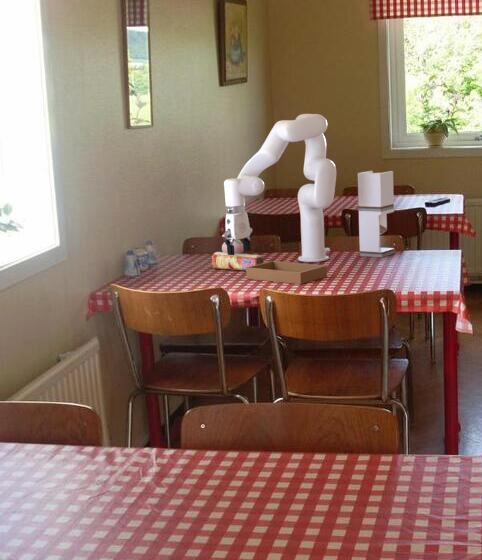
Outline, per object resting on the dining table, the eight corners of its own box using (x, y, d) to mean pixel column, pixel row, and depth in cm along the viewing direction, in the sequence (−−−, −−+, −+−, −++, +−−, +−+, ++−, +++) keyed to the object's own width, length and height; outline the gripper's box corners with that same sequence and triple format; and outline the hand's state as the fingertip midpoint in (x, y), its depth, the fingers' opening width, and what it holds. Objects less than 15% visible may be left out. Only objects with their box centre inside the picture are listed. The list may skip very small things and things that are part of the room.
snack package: (265, 269, 394) (264, 253, 392) (256, 272, 388) (255, 255, 386) (220, 266, 403) (219, 250, 402) (211, 269, 397) (210, 253, 396)
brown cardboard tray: (273, 271, 390) (272, 260, 389) (326, 276, 376) (326, 265, 375) (246, 278, 376) (245, 267, 375) (300, 284, 362) (300, 272, 361)
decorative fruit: (218, 261, 417) (217, 237, 415) (227, 258, 424) (226, 235, 422) (238, 262, 413) (236, 238, 411) (247, 259, 420) (246, 235, 419)
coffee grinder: (381, 257, 416) (380, 173, 409) (359, 255, 421) (357, 173, 414) (394, 253, 425) (393, 171, 419) (372, 251, 431) (371, 170, 424)
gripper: (228, 213, 382) (232, 257, 385) (256, 207, 396) (260, 249, 399) (213, 213, 386) (217, 256, 390) (242, 206, 400) (245, 248, 404)
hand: (239, 252), depth 394 cm, fingers open, 9 cm apart
